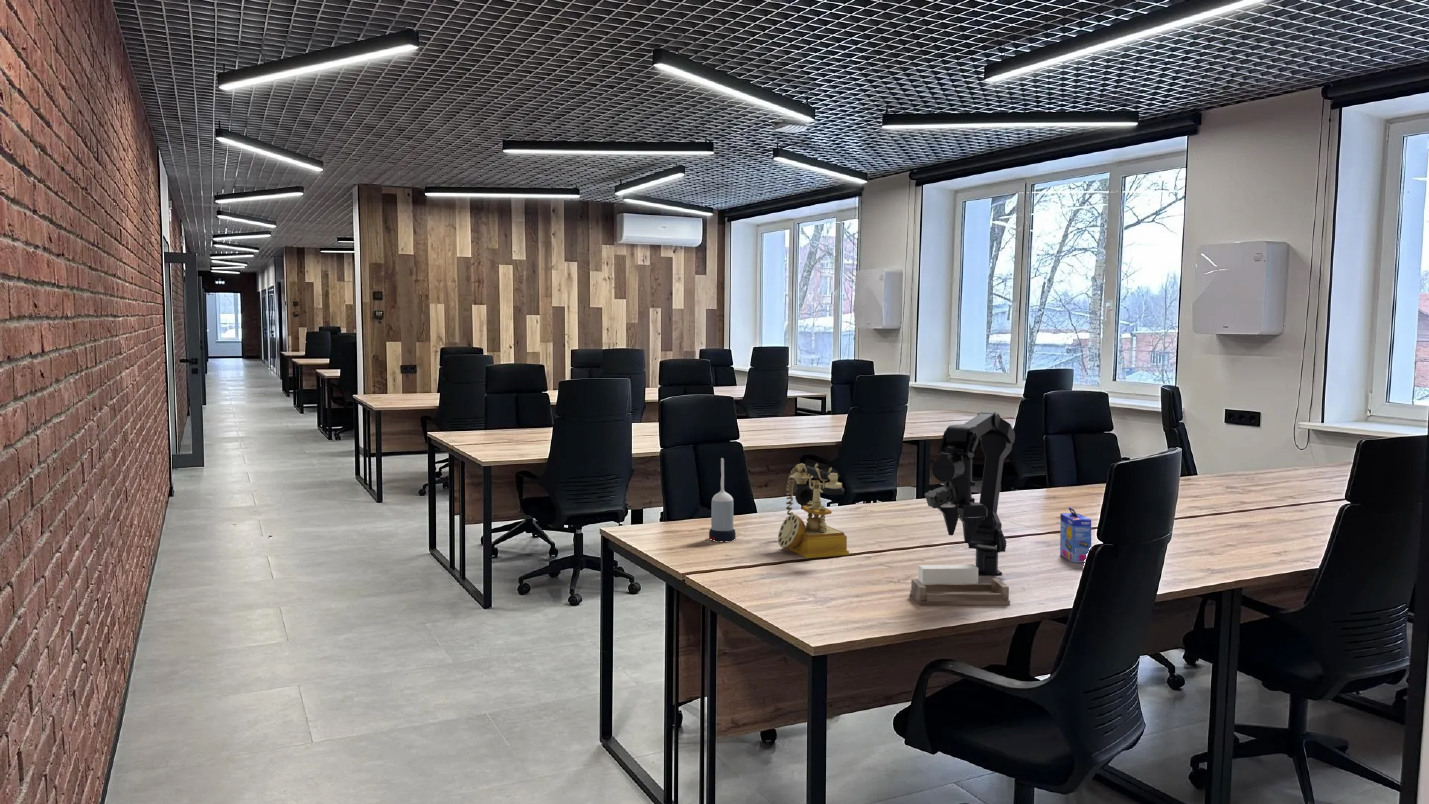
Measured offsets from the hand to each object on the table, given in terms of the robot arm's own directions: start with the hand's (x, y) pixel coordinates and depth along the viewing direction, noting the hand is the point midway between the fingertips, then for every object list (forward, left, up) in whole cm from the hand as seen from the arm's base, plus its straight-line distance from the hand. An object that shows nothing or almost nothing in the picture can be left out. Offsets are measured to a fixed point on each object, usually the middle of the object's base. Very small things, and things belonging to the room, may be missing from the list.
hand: (958, 539), depth 240 cm
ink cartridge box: (-30, +42, -12) cm, 53 cm away
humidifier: (-58, -56, -12) cm, 81 cm away
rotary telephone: (-45, -33, -12) cm, 57 cm away
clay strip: (-2, -2, -12) cm, 13 cm away
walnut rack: (+11, -3, -12) cm, 17 cm away
